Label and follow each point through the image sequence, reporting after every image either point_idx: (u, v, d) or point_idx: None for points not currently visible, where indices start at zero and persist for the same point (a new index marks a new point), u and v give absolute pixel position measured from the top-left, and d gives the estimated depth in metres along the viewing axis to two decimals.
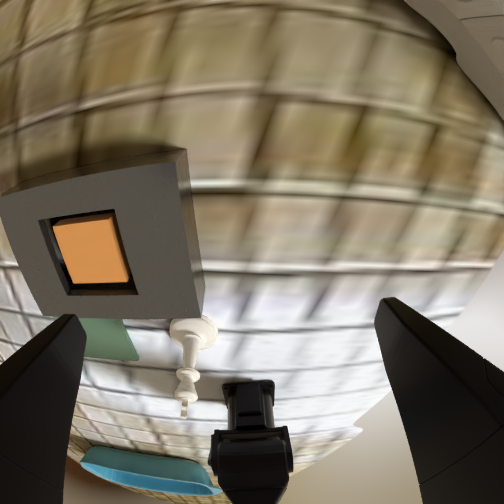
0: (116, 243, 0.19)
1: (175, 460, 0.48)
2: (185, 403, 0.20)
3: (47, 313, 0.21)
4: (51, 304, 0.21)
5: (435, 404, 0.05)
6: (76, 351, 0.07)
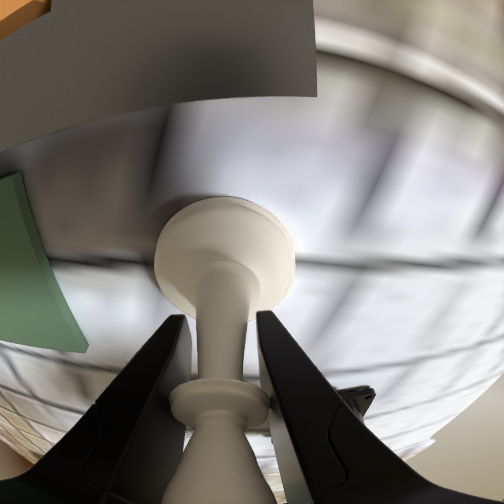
0: None
1: None
2: None
3: None
4: None
5: (281, 440, 0.05)
6: (187, 357, 0.07)
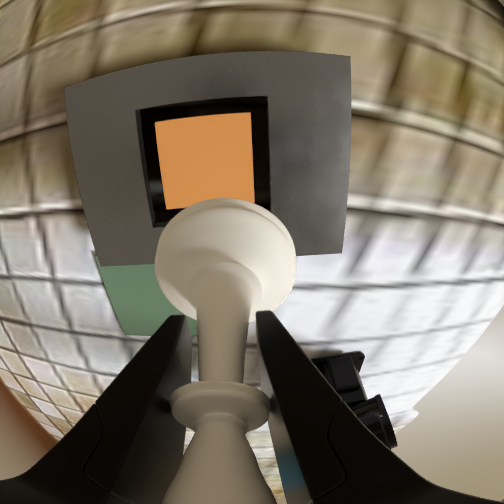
0: (251, 147, 0.15)
1: None
2: None
3: (108, 262, 0.17)
4: (120, 245, 0.17)
5: (280, 440, 0.05)
6: (188, 357, 0.07)
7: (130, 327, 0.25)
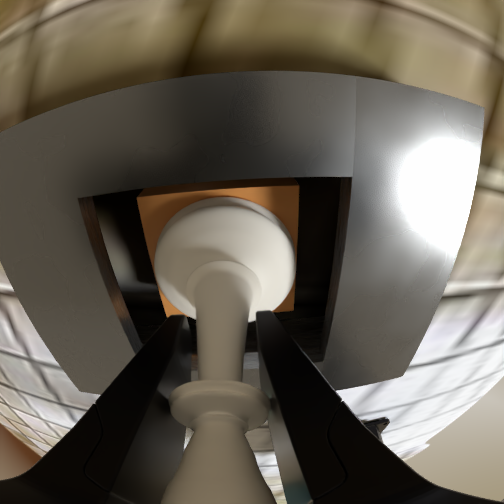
0: None
1: None
2: None
3: (89, 390, 0.11)
4: (100, 379, 0.10)
5: (281, 440, 0.05)
6: (188, 357, 0.07)
7: None
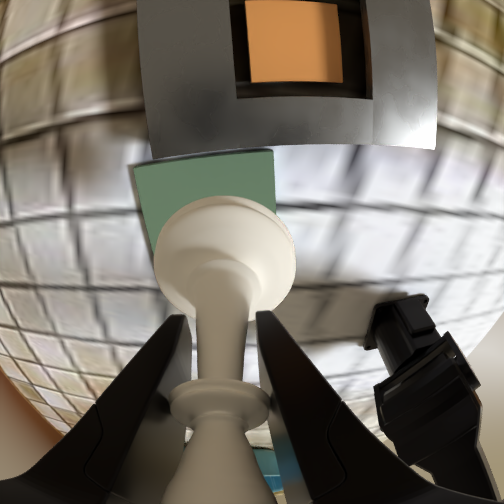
0: (338, 33, 0.12)
1: None
2: None
3: (165, 151, 0.13)
4: (187, 125, 0.13)
5: (280, 440, 0.05)
6: (188, 357, 0.07)
7: None
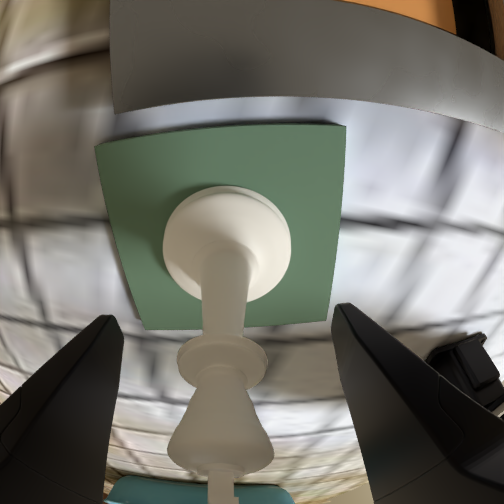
0: None
1: (256, 489, 0.33)
2: (228, 503, 0.03)
3: (143, 95, 0.05)
4: (198, 37, 0.05)
5: (383, 421, 0.05)
6: (115, 354, 0.07)
7: (158, 314, 0.13)
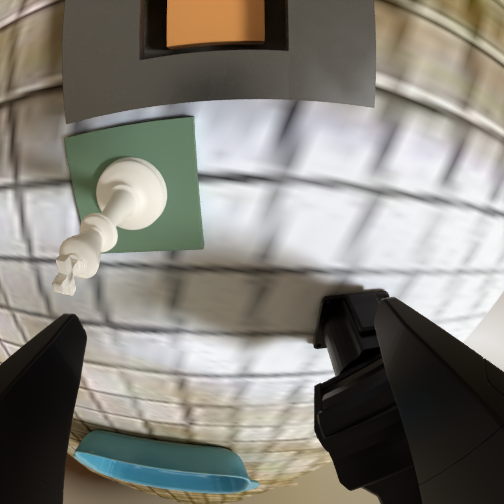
0: None
1: (209, 449, 0.40)
2: (65, 256, 0.09)
3: (76, 116, 0.11)
4: (95, 89, 0.11)
5: (435, 404, 0.05)
6: (76, 351, 0.07)
7: None
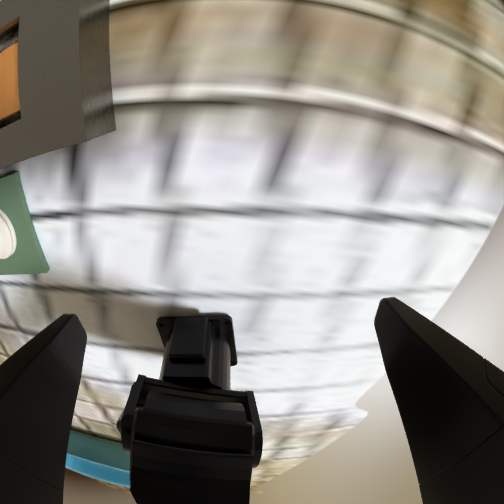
0: None
1: None
2: None
3: None
4: None
5: (435, 404, 0.05)
6: (76, 351, 0.07)
7: None
